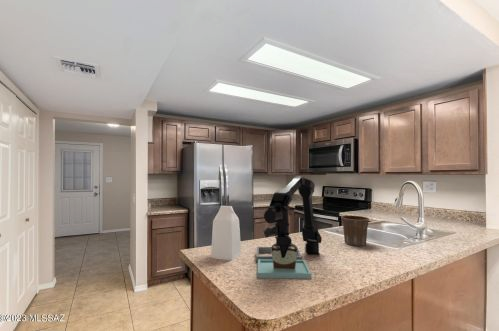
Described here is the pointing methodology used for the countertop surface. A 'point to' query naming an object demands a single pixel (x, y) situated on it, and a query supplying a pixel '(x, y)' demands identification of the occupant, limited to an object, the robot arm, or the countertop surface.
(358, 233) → the plant pot
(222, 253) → the milk
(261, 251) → the grey rectangular frame
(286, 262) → the food container
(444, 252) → the countertop surface
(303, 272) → the tray
